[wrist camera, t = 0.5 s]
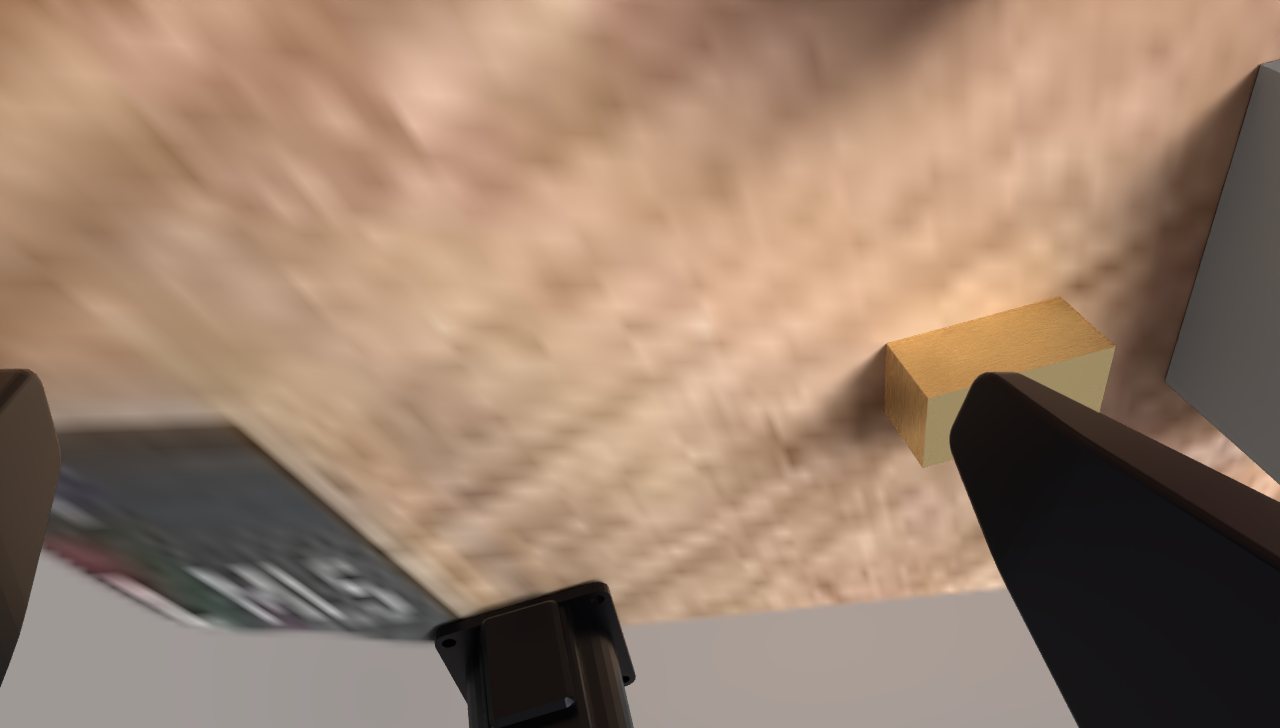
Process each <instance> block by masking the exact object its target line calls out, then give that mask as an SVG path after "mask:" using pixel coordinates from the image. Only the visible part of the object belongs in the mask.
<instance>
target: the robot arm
mask: <svg viewBox="0 0 1280 728" xmlns="http://www.w3.org/2000/svg"><path fill="white" fill-rule="evenodd" d="M949 444H950V450H951V453H952V456H953V458H954V461H955V463H956V466H957V468H958V471H959V474H960V476H961V479H962V481H963V484H964V486H965V489H966V491H967V494H968V496H969V499H970V501H971V504H972V506H973V509H974V512H975V514H976V517H977V519H978V522H979V524H980V527H981V529H982V532H983V534H984V537H985V539H986V542H987V545H988V547H989V549H990V552H991V554H992V557H993V559H994V561H995V564H996V566H997V568H998V570H999V572H1000V574H1001V577H1002V579H1003V581H1004V583H1005V585H1006V587H1007V589H1008V591H1009V593H1010V594H1011V597H1012V599H1013V601H1014V602H1015V604H1016V606H1017V608H1018V610H1019V612H1020V614H1021V616H1022V618H1023V620H1024V622H1025V624H1026V626H1027V627H1028V629H1029V632H1030V634H1031V636H1032V638H1033V639H1034V641H1035V643H1036V645H1037V647H1038V649H1039V651H1040V653H1041V655H1042V657H1043V659H1044V661H1045V663H1046V665H1047V667H1048V668H1049V671H1050V673H1051V675H1052V677H1053V678H1054V680H1055V682H1056V684H1057V686H1058V688H1059V690H1060V692H1061V694H1062V696H1063V698H1064V700H1065V702H1066V704H1067V706H1068V708H1069V710H1070V712H1071V714H1072V715H1073V717H1074V719H1075V721H1076V723H1077V725H1078V727H1079V728H1280V502H1278V501H1276V500H1274V499H1272V498H1270V497H1268V496H1266V495H1264V494H1262V493H1260V492H1258V491H1256V490H1254V489H1252V488H1250V487H1248V486H1246V485H1244V484H1242V483H1240V482H1238V481H1236V480H1234V479H1232V478H1230V477H1228V476H1226V475H1224V474H1222V473H1220V472H1218V471H1216V470H1214V469H1212V468H1210V467H1208V466H1206V465H1204V464H1202V463H1200V462H1198V461H1196V460H1194V459H1192V458H1189V457H1187V456H1185V455H1183V454H1181V453H1179V452H1177V451H1175V450H1173V449H1171V448H1169V447H1167V446H1165V445H1163V444H1161V443H1159V442H1157V441H1155V440H1153V439H1151V438H1149V437H1147V436H1145V435H1143V434H1141V433H1139V432H1137V431H1135V430H1133V429H1131V428H1129V427H1127V426H1125V425H1123V424H1121V423H1119V422H1117V421H1115V420H1113V419H1111V418H1109V417H1107V416H1105V415H1103V414H1101V413H1099V412H1097V411H1095V410H1093V409H1091V408H1089V407H1087V406H1085V405H1083V404H1081V403H1079V402H1077V401H1075V400H1073V399H1071V398H1069V397H1067V396H1065V395H1063V394H1061V393H1059V392H1057V391H1055V390H1053V389H1051V388H1049V387H1047V386H1045V385H1043V384H1041V383H1039V382H1037V381H1035V380H1033V379H1030V378H1028V377H1026V376H1024V375H1022V374H1020V373H1016V372H985V373H982V374H980V375H979V376H978V377H977V378H976V379H975V380H974V381H973V383H972V384H971V387H970V389H969V391H968V393H967V395H966V397H965V399H964V401H963V404H962V406H961V408H960V410H959V412H958V414H957V416H956V418H955V420H954V423H953V425H952V427H951V430H950V435H949ZM60 466H61V452H60V445H59V441H58V437H57V434H56V430H55V427H54V423H53V420H52V416H51V412H50V409H49V405H48V402H47V398H46V395H45V391H44V387H43V385H42V382H41V380H40V379H39V377H38V376H37V374H35V373H34V372H32V371H31V370H29V369H0V687H1V684H2V681H3V679H4V676H5V674H6V671H7V668H8V666H9V663H10V660H11V658H12V655H13V652H14V649H15V646H16V644H17V641H18V638H19V635H20V631H21V628H22V624H23V620H24V617H25V613H26V609H27V606H28V601H29V597H30V593H31V589H32V585H33V581H34V577H35V573H36V568H37V564H38V560H39V556H40V552H41V548H42V544H43V540H44V536H45V532H46V527H47V523H48V519H49V515H50V511H51V507H52V503H53V499H54V495H55V490H56V486H57V482H58V478H59V473H60ZM434 637H435V647H436V649H437V651H438V653H439V654H440V656H441V658H442V660H443V661H444V663H445V665H446V666H447V669H448V670H449V672H450V674H451V676H452V677H453V679H454V681H455V683H456V685H457V686H458V688H459V690H460V692H461V693H462V695H463V697H464V699H465V700H466V702H467V704H468V716H469V728H634V727H633V722H632V718H631V714H630V710H629V705H628V701H627V696H626V692H625V688H624V687H625V686H627V685H630V684H631V683H633V682H634V680H635V677H636V676H635V672H634V668H633V665H632V661H631V658H630V655H629V652H628V648H627V645H626V642H625V639H624V636H623V632H622V629H621V626H620V622H619V619H618V616H617V613H616V609H615V606H614V603H613V600H612V596H611V593H610V590H609V587H608V586H607V584H605V583H601V582H596V583H591V584H588V585H584V586H581V587H577V588H574V589H571V590H567V591H564V592H560V593H557V594H553V595H550V596H546V597H543V598H539V599H536V600H533V601H529V602H526V603H522V604H519V605H515V606H512V607H508V608H505V609H501V610H498V611H495V612H491V613H488V614H484V615H481V616H477V617H474V618H470V619H467V620H463V621H460V622H457V623H453V624H450V625H446V626H443V627H441V628H439V629H438V630H437V631H436V632H435V634H434Z"/></svg>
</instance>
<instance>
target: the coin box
mask: <svg viewBox="0 0 1280 728" xmlns="http://www.w3.org/2000/svg"><path fill="white" fill-rule="evenodd" d="M1165 383H1166V384H1168V385H1169V386H1170V387H1171V388H1172V389H1173V390H1174V391H1175V392H1177V393H1178V394H1179V395H1180V396H1181V397H1182V398H1183V399H1184V400H1185V401H1187V402H1188V403H1189V404H1190V405H1191V406H1192V407H1193V408H1194V409H1196V410H1197V411H1198V412H1199V413H1200V414H1201V415H1202V416H1203V417H1205V418H1206V419H1207V420H1208V421H1209V422H1210V423H1211V424H1212V425H1213V426H1215V427H1216V428H1217V429H1218V430H1219V431H1220V432H1221V433H1222V434H1224V435H1225V436H1226V437H1227V438H1228V439H1229V440H1230V441H1231V442H1233V443H1234V444H1235V445H1236V446H1237V447H1238V448H1239V449H1240V450H1241V451H1243V452H1244V453H1245V454H1246V455H1247V456H1248V457H1249V458H1250V459H1252V460H1253V461H1254V462H1255V463H1256V464H1257V465H1258V466H1259V467H1260V468H1262V469H1263V470H1264V471H1265V472H1266V473H1267V474H1268V475H1269V476H1271V477H1272V478H1273V479H1274V480H1275V481H1276V482H1277V483H1278V484H1280V60H1277V61H1273V62H1269V63H1265V64H1261V66H1260V69H1259V72H1258V76H1257V79H1256V82H1255V86H1254V89H1253V92H1252V95H1251V99H1250V102H1249V105H1248V109H1247V112H1246V115H1245V119H1244V122H1243V125H1242V129H1241V132H1240V135H1239V138H1238V142H1237V145H1236V148H1235V152H1234V155H1233V158H1232V162H1231V165H1230V168H1229V171H1228V175H1227V178H1226V181H1225V185H1224V188H1223V191H1222V195H1221V198H1220V201H1219V205H1218V208H1217V211H1216V214H1215V218H1214V221H1213V224H1212V228H1211V231H1210V234H1209V238H1208V241H1207V244H1206V247H1205V251H1204V254H1203V257H1202V261H1201V264H1200V267H1199V271H1198V274H1197V277H1196V280H1195V284H1194V287H1193V290H1192V294H1191V297H1190V300H1189V304H1188V307H1187V310H1186V314H1185V317H1184V320H1183V323H1182V327H1181V330H1180V333H1179V337H1178V340H1177V343H1176V347H1175V350H1174V353H1173V356H1172V360H1171V363H1170V366H1169V370H1168V373H1167V376H1166V380H1165Z"/></svg>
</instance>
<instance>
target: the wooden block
mask: <svg viewBox="0 0 1280 728" xmlns="http://www.w3.org/2000/svg"><path fill="white" fill-rule="evenodd" d="M1115 348H1116V346H1115V345H1113V344H1112V343H1111V342H1110V341H1109V340H1108V339H1107V338H1106V337H1105V336H1103V335H1102V334H1101V333H1100V332H1099V331H1098V330H1097V329H1096V328H1095V327H1093V326H1092V325H1091V324H1090V323H1089V322H1088V321H1087V320H1086V319H1085V318H1083V317H1082V316H1081V315H1080V314H1079V313H1078V312H1077V311H1076V310H1075V309H1074V308H1072V307H1071V306H1070V305H1069V304H1068V303H1067V302H1066V301H1065V300H1064V299H1062V298H1061V297H1056V298H1052V299H1049V300H1045V301H1041V302H1038V303H1034V304H1030V305H1027V306H1023V307H1019V308H1016V309H1012V310H1008V311H1004V312H1001V313H997V314H993V315H990V316H986V317H982V318H979V319H975V320H971V321H968V322H964V323H960V324H957V325H953V326H949V327H945V328H942V329H938V330H934V331H931V332H927V333H923V334H920V335H916V336H912V337H909V338H905V339H901V340H897V341H894V342H890V343H886V370H885V399H884V412H885V413H886V415H887V416H888V418H889V419H890V421H891V422H892V424H893V425H894V427H895V428H896V429H897V431H898V432H899V434H900V435H901V437H902V438H903V440H904V441H905V443H906V444H907V446H908V447H909V449H910V450H911V451H912V453H913V454H914V456H915V457H916V459H917V460H918V462H919V463H920V465H921V466H922V468H925V467H928V466H932V465H935V464H939V463H942V462H946V461H949V460H953V459H954V458H953V456H952V453H951V450H950V444H949V435H950V430H951V427H952V425H953V423H954V420H955V418H956V416H957V414H958V412H959V410H960V408H961V406H962V404H963V401H964V399H965V397H966V395H967V393H968V391H969V389H970V387H971V384H972V383H973V381H974V380H975V379H976V378H977V377H978V376H979V375H980V374H982V373H985V372H1016V373H1020V374H1022V375H1024V376H1026V377H1028V378H1030V379H1033V380H1035V381H1037V382H1039V383H1041V384H1043V385H1045V386H1047V387H1049V388H1051V389H1053V390H1055V391H1057V392H1059V393H1061V394H1063V395H1065V396H1067V397H1069V398H1071V399H1073V400H1075V401H1077V402H1079V403H1081V404H1083V405H1085V406H1087V407H1089V408H1091V409H1093V410H1095V411H1097V412H1100V408H1101V404H1102V400H1103V396H1104V392H1105V388H1106V384H1107V380H1108V376H1109V372H1110V368H1111V364H1112V360H1113V356H1114V352H1115Z"/></svg>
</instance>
